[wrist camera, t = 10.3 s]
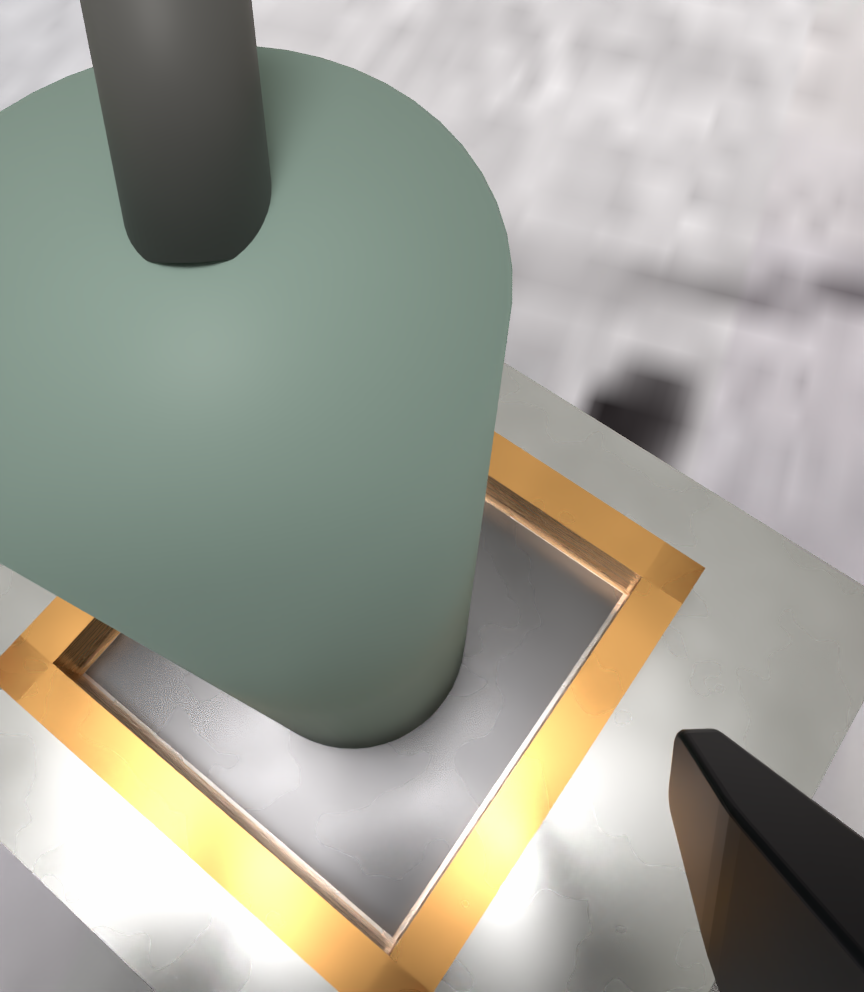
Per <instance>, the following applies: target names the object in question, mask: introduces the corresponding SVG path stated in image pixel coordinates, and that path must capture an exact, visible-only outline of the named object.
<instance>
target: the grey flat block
mask: <svg viewBox="0 0 864 992" xmlns="http://www.w3.org/2000/svg"><path fill="white" fill-rule="evenodd" d="M863 701H864V586H863V585H861V584H860V583H858V582H857V581H855V580H853V579H852V578H850V577H849V576H847V575H845V574H844V573H842V572H840V571H839V570H837V569H836V568H834V567H832V566H831V565H829V564H828V563H826V562H824V561H823V560H821V559H820V558H818V557H816V556H815V555H813V554H811V553H810V552H808V551H807V550H805V549H803V548H802V547H800V546H799V545H797V544H795V543H794V542H792V541H791V540H789V539H787V538H786V537H784V536H782V535H781V534H779V533H778V532H776V531H774V530H773V529H771V528H770V527H768V526H766V525H765V524H763V523H762V522H760V521H758V520H757V519H755V518H754V517H752V516H750V515H749V514H747V513H745V512H744V511H742V510H741V509H739V508H737V507H736V506H734V505H733V504H731V503H729V502H728V501H726V500H725V499H723V498H721V497H720V496H718V495H716V494H715V493H713V492H712V491H710V490H708V489H707V488H705V487H704V486H702V485H700V484H699V483H697V482H696V481H694V480H692V479H691V478H689V477H687V476H686V475H684V474H683V473H681V472H679V471H678V470H676V469H675V468H673V467H671V466H670V465H668V464H667V463H665V462H663V461H662V460H660V459H659V458H657V457H655V456H654V455H652V454H650V453H649V452H647V451H646V450H644V449H642V448H641V447H639V446H638V445H636V444H634V443H633V442H631V441H630V440H628V439H626V438H625V437H623V436H621V435H620V434H618V433H617V432H615V431H613V430H612V429H610V428H609V427H607V426H605V425H604V424H602V423H601V422H599V421H597V420H596V419H594V418H592V417H591V416H589V415H588V414H586V413H584V412H583V411H581V410H580V409H578V408H576V407H575V406H573V405H572V404H570V403H568V402H567V401H565V400H564V399H562V398H560V397H559V396H557V395H555V394H554V393H552V392H551V391H549V390H547V389H546V388H544V387H543V386H541V385H539V384H538V383H536V382H535V381H533V380H531V379H530V378H528V377H526V376H525V375H523V374H522V373H520V372H518V371H517V370H515V369H514V368H512V367H510V366H509V365H507V364H506V363H504V364H503V372H502V379H501V386H500V393H499V401H498V408H497V415H496V422H495V430H494V437H493V444H492V451H491V459H490V466H489V473H488V480H487V488H486V495H485V502H484V509H483V517H482V524H481V531H480V538H479V546H478V553H477V560H476V567H475V575H474V582H473V589H472V596H471V604H470V611H469V618H468V625H467V633H466V640H465V647H464V653H463V659H462V663H461V667H460V670H459V673H458V676H457V678H456V680H455V683H454V685H453V687H452V689H451V691H450V692H449V694H448V696H447V697H446V699H445V700H444V702H443V703H442V704H441V705H440V707H439V708H438V709H437V710H436V712H435V713H434V714H433V715H431V716H430V717H429V718H428V719H427V720H426V721H425V722H424V723H423V724H421V725H420V726H419V727H417V728H416V729H414V730H413V731H412V732H410V733H408V734H406V735H404V736H402V737H401V738H399V739H396V740H394V741H391V742H388V743H386V744H382V745H378V746H374V747H369V748H359V749H346V748H336V747H330V746H325V745H322V744H319V743H316V742H313V741H310V740H308V739H306V738H304V737H302V736H300V735H298V734H296V733H295V732H293V731H291V730H289V729H288V728H286V727H284V726H282V725H281V724H279V723H277V722H276V721H274V720H272V719H270V718H269V717H267V716H265V715H263V714H262V713H260V712H258V711H256V710H255V709H253V708H251V707H249V706H248V705H246V704H244V703H242V702H241V701H239V700H237V699H235V698H234V697H232V696H230V695H228V694H227V693H225V692H223V691H222V690H220V689H218V688H216V687H215V686H213V685H211V684H209V683H208V682H206V681H204V680H202V679H201V678H199V677H197V676H195V675H194V674H192V673H190V672H188V671H187V670H185V669H183V668H181V667H180V666H178V665H176V664H175V663H173V662H171V661H169V660H168V659H166V658H164V657H162V656H161V655H159V654H157V653H155V652H154V651H152V650H150V649H148V648H147V647H145V646H143V645H141V644H140V643H138V642H136V641H134V640H133V639H131V638H129V637H128V636H126V635H124V634H122V633H121V632H119V631H117V630H115V629H114V628H112V627H110V626H108V625H107V624H105V623H103V622H101V621H100V620H98V619H96V618H94V617H93V616H91V615H89V614H87V613H86V612H84V611H82V610H80V609H79V608H77V607H75V606H74V605H72V604H70V603H68V602H67V601H65V600H63V599H61V598H60V597H58V596H56V595H54V594H53V593H51V592H49V591H47V590H46V589H44V588H42V587H40V586H39V585H37V584H35V583H33V582H32V581H30V580H28V579H27V578H25V577H23V576H21V575H20V574H18V573H16V572H14V571H13V570H11V569H9V568H7V567H6V566H4V565H2V564H0V842H1V843H2V844H3V845H4V846H5V847H6V848H7V849H8V850H9V851H10V852H11V853H12V854H13V855H14V856H15V857H16V858H17V859H18V860H19V861H20V862H22V863H23V864H24V865H25V866H26V867H27V868H28V869H29V870H30V871H31V872H32V873H33V874H34V875H35V876H36V877H37V878H38V879H39V880H40V881H41V882H42V883H43V884H44V885H45V886H46V887H47V888H48V889H49V890H50V891H51V892H53V893H54V894H55V895H56V896H57V897H58V898H59V899H60V900H61V901H62V902H63V903H64V904H65V905H66V906H67V907H68V908H69V909H70V910H71V911H72V912H73V913H74V914H75V915H76V916H77V917H78V918H79V919H80V920H81V921H83V922H84V923H85V924H86V925H87V926H88V927H89V928H90V929H91V930H92V931H93V932H94V933H95V934H96V935H97V936H98V937H99V938H100V939H101V940H102V941H103V942H104V943H105V944H106V945H107V946H108V947H109V948H110V949H111V950H113V951H114V952H115V953H116V954H117V955H118V956H119V957H120V958H121V959H122V960H123V961H124V962H125V963H126V964H127V965H128V966H129V967H130V968H131V969H132V970H133V971H134V972H135V973H136V974H137V975H138V976H139V977H140V978H141V979H143V980H144V981H145V982H146V983H147V984H148V985H149V986H150V987H151V988H152V989H153V990H154V991H155V992H709V991H710V989H711V988H712V986H713V984H714V982H715V977H714V974H713V972H712V969H711V966H710V963H709V960H708V957H707V953H706V950H705V946H704V942H703V939H702V935H701V931H700V927H699V924H698V920H697V916H696V912H695V908H694V904H693V900H692V896H691V892H690V888H689V884H688V880H687V876H686V872H685V868H684V865H683V861H682V857H681V853H680V849H679V845H678V841H677V837H676V833H675V829H674V825H673V821H672V817H671V813H670V807H669V798H668V790H669V780H670V771H671V763H672V754H673V745H674V739H675V737H676V734H677V733H678V732H679V731H680V730H682V729H706V728H712V729H716V730H719V731H720V732H722V733H724V734H725V735H726V736H728V737H729V738H730V739H732V740H733V741H734V742H736V743H737V744H738V745H740V746H741V747H742V748H744V749H745V750H746V751H748V752H749V753H750V754H752V755H753V756H754V757H756V758H757V759H758V760H760V761H761V762H762V763H764V764H765V765H766V766H768V767H769V768H770V769H772V770H773V771H774V772H776V773H777V774H778V775H780V776H781V777H783V778H784V779H785V780H787V781H788V782H789V783H791V784H792V785H793V786H795V787H796V788H797V789H799V790H800V791H801V792H803V793H804V794H805V795H807V796H808V797H809V798H811V799H812V797H813V795H814V794H815V792H816V790H817V788H818V786H819V784H820V782H821V780H822V778H823V777H824V775H825V773H826V771H827V769H828V767H829V765H830V763H831V761H832V760H833V758H834V756H835V754H836V752H837V750H838V748H839V746H840V745H841V743H842V741H843V739H844V737H845V735H846V733H847V731H848V729H849V728H850V726H851V724H852V722H853V720H854V718H855V716H856V714H857V713H858V711H859V709H860V707H861V705H862V703H863Z"/></svg>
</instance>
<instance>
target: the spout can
mask: <svg viewBox="0 0 864 992" xmlns="http://www.w3.org/2000/svg"><path fill="white" fill-rule="evenodd" d="M80 3H81V8H82V13H83V18H84V23H85V28H86V33H87V38H88V44H89V49H90V54H91V59H92V64H93V67H92V68H89V69H87V70H84V71H81V72H78V73H75V74H73V75H70V76H67V77H65V78H63V79H61V80H59V81H57V82H54V83H52V84H50V85H48V86H46V87H44V88H42V89H39V90H37V91H35V92H33V93H31V94H30V95H28V96H26V97H25V98H23V99H21V100H19V101H18V102H16V103H14V104H13V105H11V106H9V107H7V108H6V109H4V110H2V111H1V112H0V564H2V565H4V566H6V567H7V568H9V569H11V570H13V571H14V572H16V573H18V574H20V575H21V576H23V577H25V578H27V579H28V580H30V581H32V582H33V583H35V584H37V585H39V586H40V587H42V588H44V589H46V590H47V591H49V592H51V593H53V594H54V595H56V596H58V597H60V598H61V599H63V600H65V601H67V602H68V603H70V604H72V605H74V606H75V607H77V608H79V609H80V610H82V611H84V612H86V613H87V614H89V615H91V616H93V617H94V618H96V619H98V620H100V621H101V622H103V623H105V624H107V625H108V626H110V627H112V628H114V629H115V630H117V631H119V632H121V633H122V634H124V635H126V636H128V637H129V638H131V639H133V640H134V641H136V642H138V643H140V644H141V645H143V646H145V647H147V648H148V649H150V650H152V651H154V652H155V653H157V654H159V655H161V656H162V657H164V658H166V659H168V660H169V661H171V662H173V663H175V664H176V665H178V666H180V667H181V668H183V669H185V670H187V671H188V672H190V673H192V674H194V675H195V676H197V677H199V678H201V679H202V680H204V681H206V682H208V683H209V684H211V685H213V686H215V687H216V688H218V689H220V690H222V691H223V692H225V693H227V694H228V695H230V696H232V697H234V698H235V699H237V700H239V701H241V702H242V703H244V704H246V705H248V706H249V707H251V708H253V709H255V710H256V711H258V712H260V713H262V714H263V715H265V716H267V717H269V718H270V719H272V720H274V721H276V722H277V723H279V724H281V725H282V726H284V727H286V728H288V729H289V730H291V731H293V732H295V733H296V734H298V735H300V736H302V737H304V738H306V739H308V740H310V741H313V742H316V743H319V744H322V745H325V746H330V747H336V748H346V749H359V748H369V747H374V746H378V745H382V744H386V743H388V742H391V741H394V740H396V739H399V738H401V737H402V736H404V735H406V734H408V733H410V732H412V731H413V730H414V729H416V728H417V727H419V726H420V725H421V724H423V723H424V722H425V721H426V720H427V719H428V718H429V717H430V716H431V715H433V714H434V713H435V712H436V710H437V709H438V708H439V707H440V705H441V704H442V703H443V702H444V700H445V699H446V697H447V696H448V694H449V692H450V691H451V689H452V687H453V685H454V683H455V680H456V678H457V676H458V673H459V670H460V667H461V663H462V659H463V653H464V647H465V640H466V633H467V625H468V618H469V611H470V604H471V596H472V589H473V582H474V575H475V567H476V560H477V553H478V546H479V538H480V531H481V524H482V517H483V509H484V502H485V495H486V488H487V480H488V473H489V466H490V459H491V451H492V444H493V437H494V430H495V422H496V415H497V408H498V401H499V393H500V386H501V379H502V372H503V364H504V357H505V350H506V343H507V335H508V328H509V321H510V314H511V306H512V263H511V257H510V250H509V244H508V237H507V232H506V229H505V226H504V223H503V220H502V217H501V214H500V211H499V208H498V204H497V202H496V200H495V198H494V196H493V194H492V192H491V190H490V188H489V186H488V184H487V182H486V180H485V178H484V176H483V174H482V172H481V171H480V169H479V168H478V166H477V165H476V164H475V162H474V161H473V159H472V158H471V156H470V155H469V154H468V152H467V151H466V149H465V148H464V147H463V145H462V144H461V143H460V142H459V141H458V140H457V139H456V138H455V137H454V136H453V135H452V134H451V133H450V132H449V131H448V129H447V128H446V127H445V126H444V125H443V124H442V123H441V122H440V121H439V120H437V119H436V118H435V117H434V116H432V115H431V114H430V113H429V112H427V111H426V110H425V109H424V108H422V107H421V106H420V105H419V104H417V103H416V102H415V101H414V100H412V99H410V98H409V97H407V96H406V95H404V94H402V93H401V92H399V91H397V90H396V89H394V88H393V87H391V86H389V85H388V84H386V83H384V82H382V81H380V80H378V79H375V78H373V77H371V76H369V75H367V74H365V73H362V72H360V71H358V70H356V69H354V68H351V67H348V66H345V65H342V64H339V63H336V62H333V61H330V60H327V59H324V58H320V57H316V56H311V55H307V54H302V53H298V52H293V51H289V50H282V49H274V48H265V47H257V46H256V37H255V28H254V19H253V10H252V1H251V0H80Z"/></svg>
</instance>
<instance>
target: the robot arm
mask: <svg viewBox="0 0 864 992" xmlns="http://www.w3.org/2000/svg"><path fill="white" fill-rule="evenodd" d="M668 798H669V807H670V813H671V817H672V821H673V825H674V829H675V833H676V837H677V841H678V845H679V849H680V853H681V857H682V861H683V865H684V868H685V872H686V876H687V880H688V884H689V888H690V892H691V896H692V900H693V904H694V908H695V912H696V916H697V920H698V924H699V927H700V931H701V935H702V939H703V942H704V946H705V950H706V953H707V957H708V960H709V963H710V966H711V969H712V972H713V974H714V977H715V980H716V983H717V986H718V989H719V991H720V992H864V838H863V837H862V836H860V835H859V834H858V833H856V832H855V831H854V830H852V829H851V828H850V827H848V826H847V825H846V824H844V823H843V822H841V821H840V820H839V819H837V818H836V817H835V816H833V815H832V814H831V813H829V812H828V811H827V810H825V809H824V808H823V807H821V806H820V805H819V804H817V803H816V802H815V801H813V800H812V799H811V798H809V797H808V796H807V795H805V794H804V793H803V792H801V791H800V790H799V789H797V788H796V787H795V786H793V785H792V784H791V783H789V782H788V781H787V780H785V779H784V778H783V777H781V776H780V775H778V774H777V773H776V772H774V771H773V770H772V769H770V768H769V767H768V766H766V765H765V764H764V763H762V762H761V761H760V760H758V759H757V758H756V757H754V756H753V755H752V754H750V753H749V752H748V751H746V750H745V749H744V748H742V747H741V746H740V745H738V744H737V743H736V742H734V741H733V740H732V739H730V738H729V737H728V736H726V735H725V734H724V733H722V732H720V731H719V730H716V729H712V728H706V729H682V730H680V731H679V732H678V733H677V734H676V737H675V739H674V745H673V754H672V763H671V771H670V780H669V790H668Z"/></svg>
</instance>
